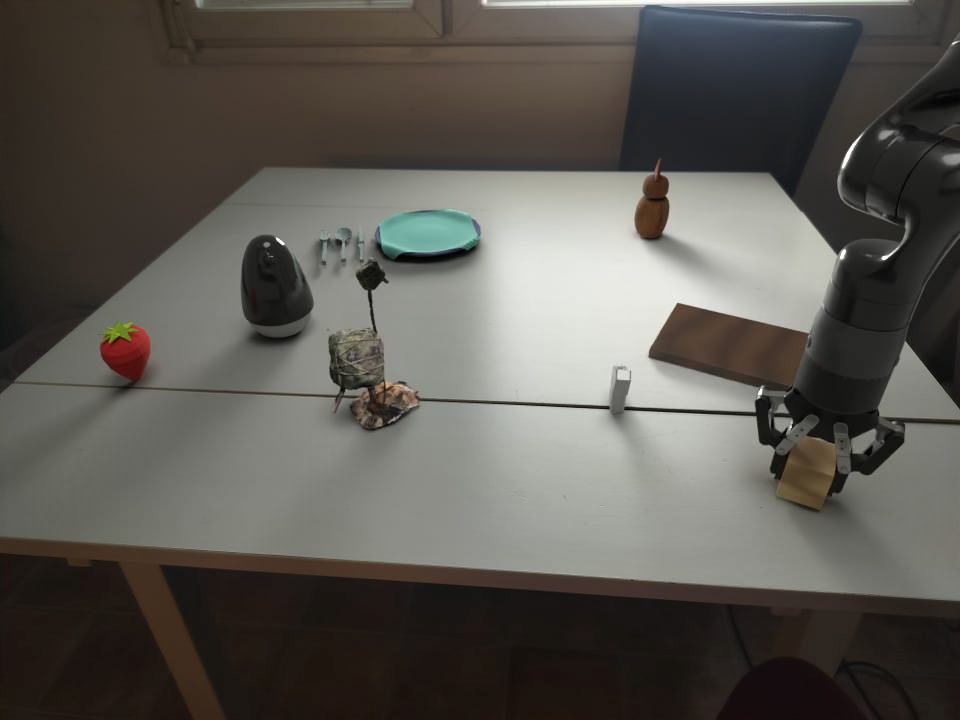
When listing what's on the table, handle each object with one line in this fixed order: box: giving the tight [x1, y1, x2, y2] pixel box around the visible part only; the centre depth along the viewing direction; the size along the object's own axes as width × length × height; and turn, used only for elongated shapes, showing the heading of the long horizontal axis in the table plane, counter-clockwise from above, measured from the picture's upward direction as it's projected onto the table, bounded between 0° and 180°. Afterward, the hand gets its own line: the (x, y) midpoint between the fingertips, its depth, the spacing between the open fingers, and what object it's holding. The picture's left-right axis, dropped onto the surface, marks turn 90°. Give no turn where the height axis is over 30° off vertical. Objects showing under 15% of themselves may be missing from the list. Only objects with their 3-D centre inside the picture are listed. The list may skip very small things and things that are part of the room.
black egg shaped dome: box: [240, 233, 315, 339], centre depth 97 cm, size 10×10×15 cm
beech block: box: [775, 436, 837, 511], centre depth 70 cm, size 4×5×5 cm
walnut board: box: [647, 302, 810, 391], centre depth 94 cm, size 20×14×2 cm
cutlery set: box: [319, 208, 482, 266], centre depth 124 cm, size 20×30×2 cm, turn 99°
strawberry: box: [97, 317, 151, 382], centre depth 88 cm, size 6×8×10 cm
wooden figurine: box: [633, 158, 670, 239], centre depth 121 cm, size 7×6×15 cm
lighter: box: [609, 364, 632, 414], centre depth 82 cm, size 7×2×8 cm, turn 171°
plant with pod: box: [326, 257, 421, 430], centre depth 79 cm, size 8×11×20 cm
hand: (803, 482), depth 71 cm, fingers closed on beech block, 4 cm apart
